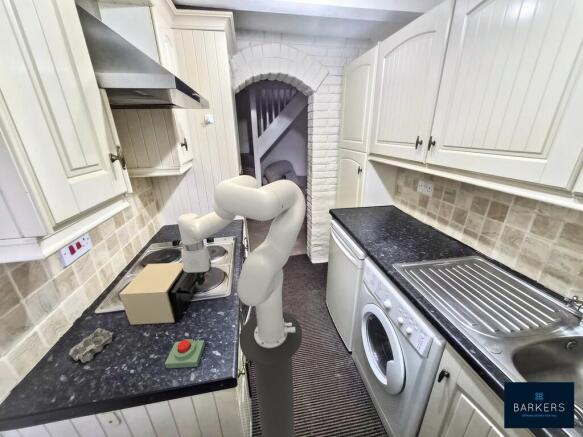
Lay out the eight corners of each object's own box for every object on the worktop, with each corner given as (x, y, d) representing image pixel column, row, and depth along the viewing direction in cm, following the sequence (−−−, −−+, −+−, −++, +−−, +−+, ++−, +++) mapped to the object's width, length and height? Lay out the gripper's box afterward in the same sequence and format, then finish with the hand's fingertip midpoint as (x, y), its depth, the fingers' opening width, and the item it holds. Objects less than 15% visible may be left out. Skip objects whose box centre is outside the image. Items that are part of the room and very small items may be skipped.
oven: (192, 289, 109) (186, 262, 104) (174, 322, 91) (165, 291, 85) (156, 291, 109) (147, 264, 103) (130, 324, 90) (118, 294, 84)
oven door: (205, 289, 110) (204, 263, 104) (190, 322, 91) (187, 292, 86) (192, 288, 109) (190, 262, 104) (174, 321, 91) (171, 292, 85)
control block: (205, 344, 81) (203, 336, 79) (197, 366, 74) (195, 357, 72) (176, 346, 81) (174, 337, 79) (166, 368, 73) (163, 359, 72)
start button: (192, 343, 77) (191, 339, 77) (188, 353, 74) (187, 349, 73) (181, 343, 77) (180, 340, 77) (176, 353, 74) (175, 349, 73)
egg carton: (85, 365, 75) (80, 356, 73) (69, 359, 77) (65, 350, 75) (117, 338, 84) (113, 330, 83) (102, 333, 86) (98, 325, 85)
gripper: (169, 250, 86) (179, 289, 93) (210, 248, 86) (216, 288, 93) (178, 240, 93) (187, 278, 100) (215, 239, 93) (221, 276, 100)
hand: (201, 283), depth 96 cm, fingers closed
